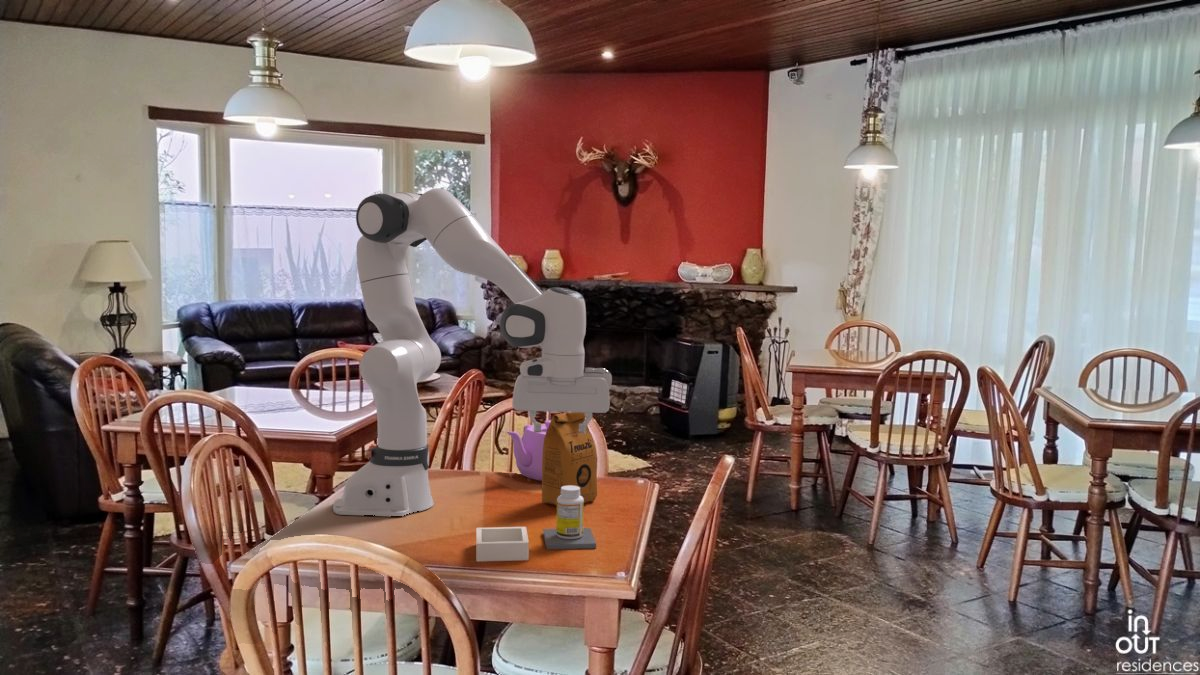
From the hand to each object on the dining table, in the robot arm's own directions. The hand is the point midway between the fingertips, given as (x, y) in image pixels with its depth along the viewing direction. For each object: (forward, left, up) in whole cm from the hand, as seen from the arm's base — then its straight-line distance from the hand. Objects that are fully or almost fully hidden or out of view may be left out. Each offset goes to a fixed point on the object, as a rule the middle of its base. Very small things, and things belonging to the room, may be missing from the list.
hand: (559, 432), depth 188 cm
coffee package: (+5, +24, -22) cm, 33 cm away
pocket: (-12, -10, -22) cm, 27 cm away
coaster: (+2, -4, -22) cm, 22 cm away
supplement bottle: (+2, -4, -21) cm, 22 cm away
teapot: (+2, +48, -22) cm, 53 cm away
